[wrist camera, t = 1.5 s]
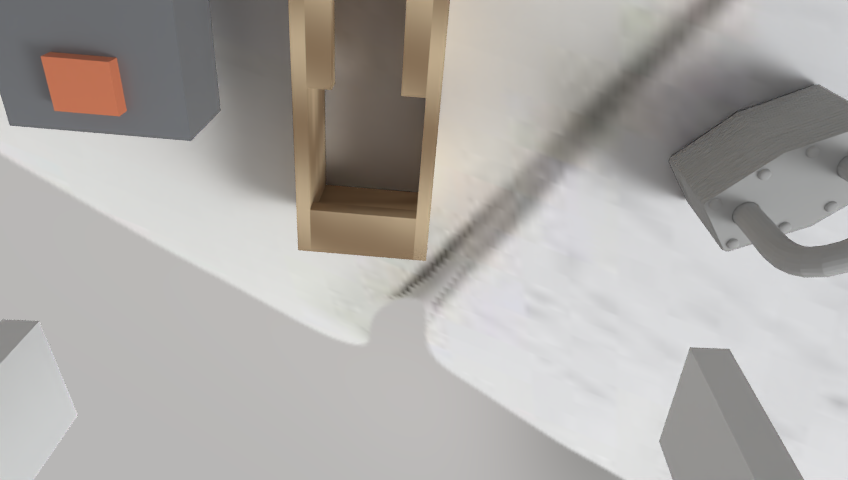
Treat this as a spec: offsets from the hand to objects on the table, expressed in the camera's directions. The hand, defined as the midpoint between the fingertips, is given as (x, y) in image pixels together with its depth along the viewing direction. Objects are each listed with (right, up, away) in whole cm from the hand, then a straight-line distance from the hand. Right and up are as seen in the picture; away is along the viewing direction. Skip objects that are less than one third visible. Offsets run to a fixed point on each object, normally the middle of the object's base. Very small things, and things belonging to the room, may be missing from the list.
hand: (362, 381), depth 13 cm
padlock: (+17, +8, +17) cm, 25 cm away
